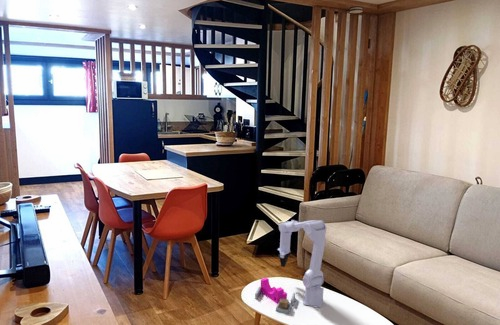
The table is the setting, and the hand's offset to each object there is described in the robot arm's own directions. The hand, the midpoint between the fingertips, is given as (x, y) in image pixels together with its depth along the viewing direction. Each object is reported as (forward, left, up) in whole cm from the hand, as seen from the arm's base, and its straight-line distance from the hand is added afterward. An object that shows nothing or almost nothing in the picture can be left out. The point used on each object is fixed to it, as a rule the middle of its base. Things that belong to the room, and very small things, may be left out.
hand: (283, 264), depth 227 cm
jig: (0, +24, -10) cm, 26 cm away
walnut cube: (-6, +28, -10) cm, 31 cm away
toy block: (+2, +18, -11) cm, 21 cm away
